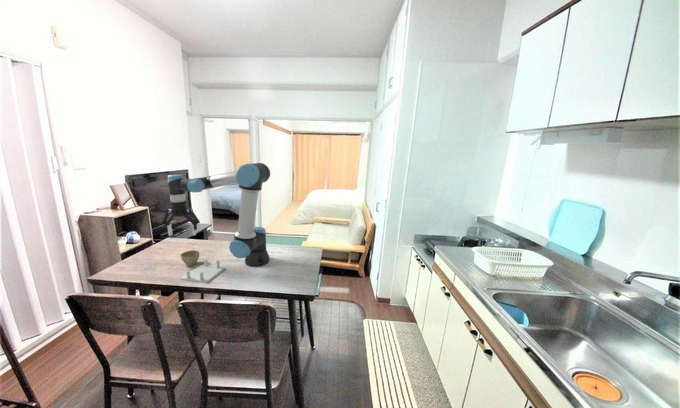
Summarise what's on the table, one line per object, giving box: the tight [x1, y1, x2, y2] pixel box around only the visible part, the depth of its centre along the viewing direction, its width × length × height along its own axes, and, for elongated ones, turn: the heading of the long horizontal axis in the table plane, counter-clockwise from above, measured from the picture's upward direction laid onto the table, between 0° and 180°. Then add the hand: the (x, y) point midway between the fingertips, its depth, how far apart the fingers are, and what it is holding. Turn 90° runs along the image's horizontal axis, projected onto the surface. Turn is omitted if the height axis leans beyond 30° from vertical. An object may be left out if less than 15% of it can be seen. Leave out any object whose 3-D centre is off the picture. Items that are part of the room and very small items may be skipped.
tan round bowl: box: [180, 249, 200, 267], centre depth 147 cm, size 10×10×7 cm
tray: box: [180, 259, 226, 284], centre depth 137 cm, size 16×16×5 cm
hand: (182, 235), depth 144 cm, fingers open, 13 cm apart
